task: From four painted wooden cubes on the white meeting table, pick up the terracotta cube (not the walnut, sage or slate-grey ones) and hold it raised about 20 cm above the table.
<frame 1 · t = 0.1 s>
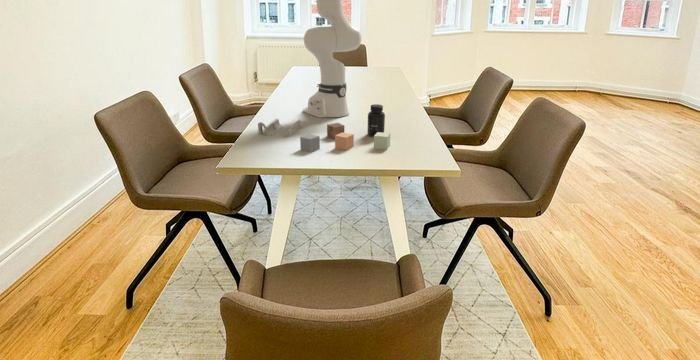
sage cube: (382, 147, 199), on the table
slate grey cube: (310, 149, 196), on the table
supplement bottle: (375, 135, 214), on the table
terracotta cube: (344, 147, 198), on the table
walnut cube: (335, 137, 211), on the table
skate ramp: (280, 132, 220), on the table
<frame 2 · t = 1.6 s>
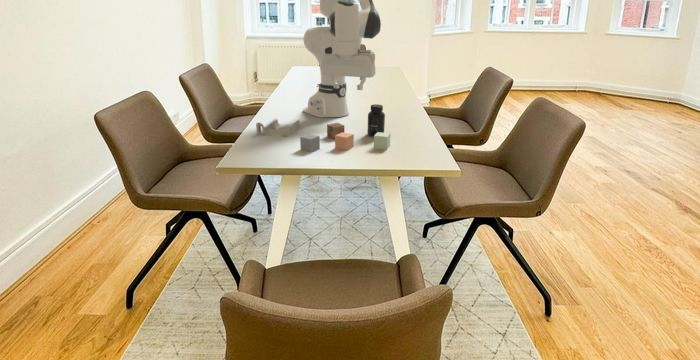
hand: (348, 89, 189), 22 cm above the table, tool pointing down, fingers open, 8 cm apart
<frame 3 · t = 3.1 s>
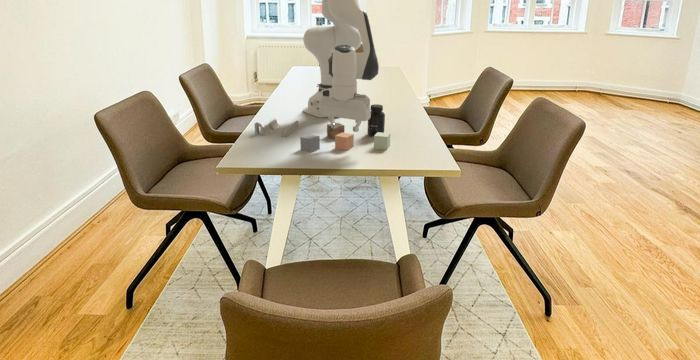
hand: (344, 129, 195), 7 cm above the table, tool pointing down, fingers open, 8 cm apart
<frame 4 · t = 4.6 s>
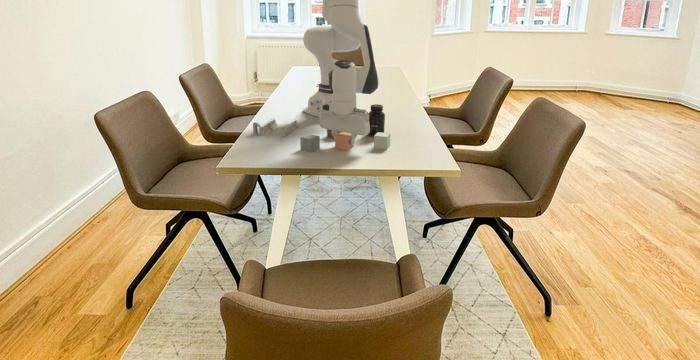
hand: (344, 143, 198), 2 cm above the table, tool pointing down, fingers closed on terracotta cube, 5 cm apart
terracotta cube: (344, 147, 198), on the table, touching gripper
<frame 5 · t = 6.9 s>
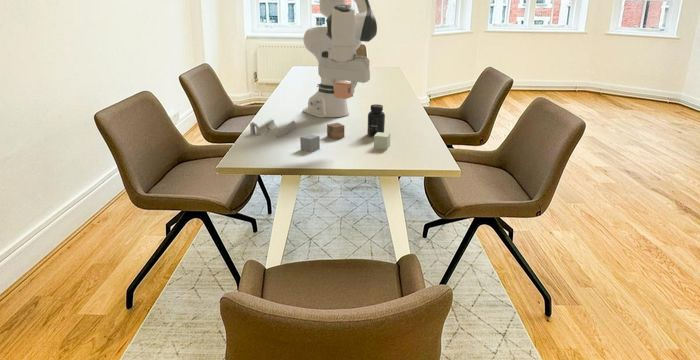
hand: (343, 92, 193), 20 cm above the table, tool pointing down, fingers closed on terracotta cube, 5 cm apart
terracotta cube: (343, 96, 194), point 19 cm above the table, touching gripper
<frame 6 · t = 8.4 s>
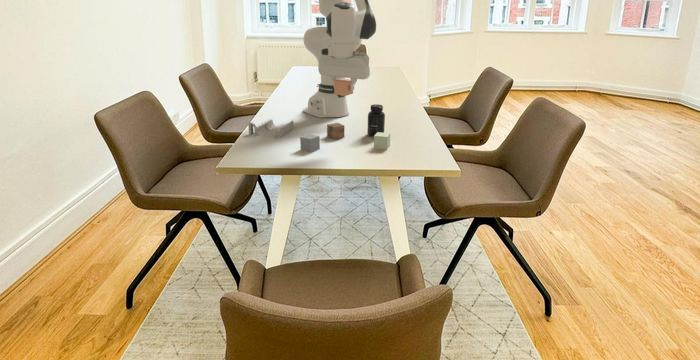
hand: (343, 89, 195), 21 cm above the table, tool pointing down, fingers closed on terracotta cube, 5 cm apart
terracotta cube: (343, 93, 195), point 19 cm above the table, touching gripper
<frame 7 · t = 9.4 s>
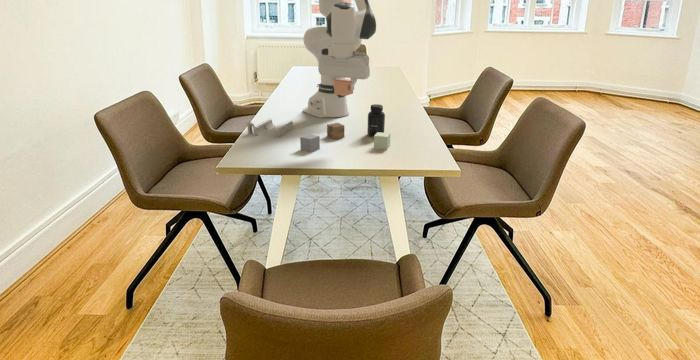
hand: (343, 89, 195), 21 cm above the table, tool pointing down, fingers closed on terracotta cube, 5 cm apart
terracotta cube: (343, 93, 195), point 19 cm above the table, touching gripper
at the end: the gripper is holding terracotta cube; terracotta cube point 19.3 cm above the table; slate grey cube moved 0.1 cm from its start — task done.
